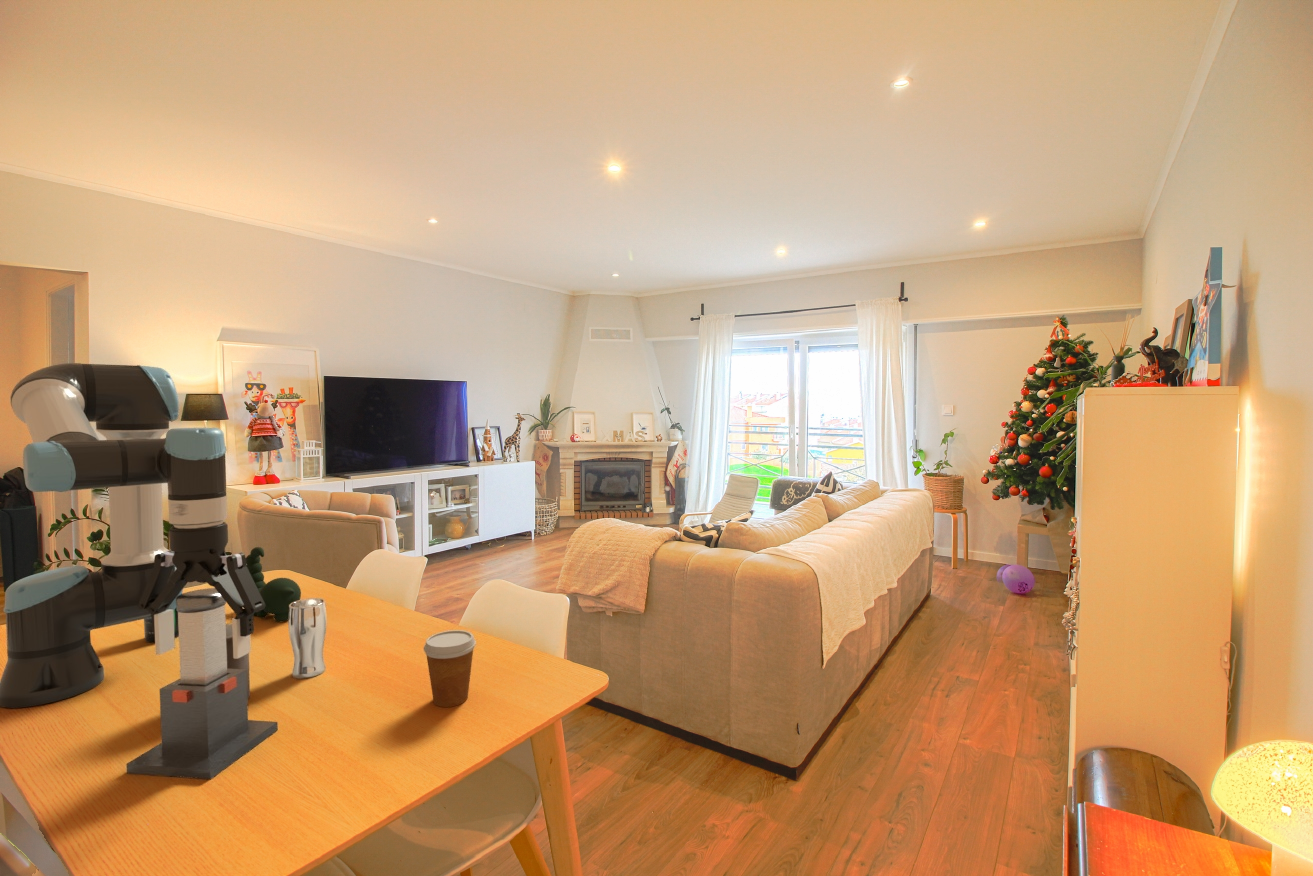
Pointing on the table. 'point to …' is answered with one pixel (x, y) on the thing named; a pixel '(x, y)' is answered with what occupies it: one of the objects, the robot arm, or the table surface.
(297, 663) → the beer glass
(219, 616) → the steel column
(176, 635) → the supplement bottle
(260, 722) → the jack stand
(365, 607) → the table surface
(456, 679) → the disposable coffee cup
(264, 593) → the toy figurine
